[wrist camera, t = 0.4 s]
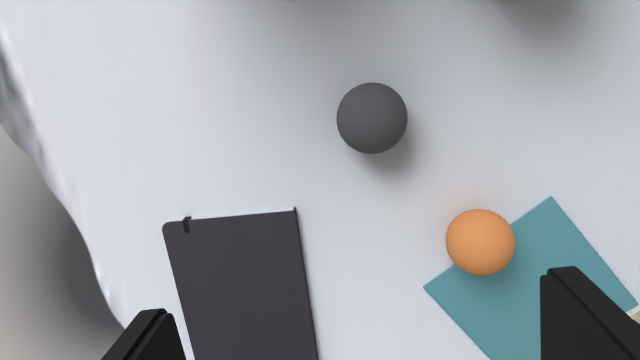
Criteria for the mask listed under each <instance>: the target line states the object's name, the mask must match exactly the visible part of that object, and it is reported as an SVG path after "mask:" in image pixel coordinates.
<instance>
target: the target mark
mask: <svg viewBox="0 0 640 360" xmlns="http://www.w3.org/2000/svg"><path fill="white" fill-rule="evenodd" d="M510 227H511V229H512V231H513V233H514V236H515V251H514V254H513V256H512V258H511V260H510V262H509V263H508V264H507V265H506V266H505V267H504V268H502V269H501V270H499V271H497V272H495V273H492V274H488V275H477V274H472V273H469V272H467V271H465V270H463V269H461V268H460V267H459V266H457V265H456V264H454V265H453V266H452V267H450V268H449V269H447V270H446V271H445V272H443V273H442V274H440V275H439V276H437V277H436V278H435V279H433V280H432V281H430V282H429V283H428V284H426V285H425V286H423V288H424V289H425V290H426V291H427V292H428V293H429V294H430V295H431V296H432V297H433V299H434V300H435V301H436V302H437V303H438V304H439V305H440V306H441V307H442V308H443V309H444V310H445V311H446V312H447V313H448V315H449V316H450V317H451V318H452V319H453V320H454V321H455V322H456V323H457V324H458V325H459V326H460V327H461V328H462V329H463V330H464V332H465V333H466V334H467V335H468V336H469V337H470V338H471V339H472V340H473V341H474V342H475V343H476V344H477V345H478V346H479V348H480V349H481V350H482V351H483V352H484V353H485V354H486V355H487V356H488V357H489V358H490V359H491V360H541V342H540V277H541V276H542V275H547V270H548V269H549V268H556V267H566V266H576V267H577V268H579V269H580V270H581V271H582V272H583V273H584V274H585V275H586V276H587V277H588V278H589V279H590V280H591V281H592V282H593V283H594V284H596V285H597V286H598V287H599V288H600V289H601V290H602V291H603V292H604V293H605V294H606V295H607V296H608V297H609V298H610V299H611V300H612V301H614V302H615V303H616V304H617V305H618V306H619V307H620V308H621V309H622V310H623V311H624V312H626V311H627V310H629V309H631V308H633V307H634V306H636V305H638V303H637V301H636V300H635V299H634V298H633V296H632V295H631V294H630V293H629V292H628V290H627V289H626V288H625V287H624V285H623V284H622V283H621V282H620V280H619V279H618V278H617V277H616V275H615V274H614V273H613V272H612V271H611V269H610V268H609V267H608V266H607V264H606V263H605V262H604V261H603V259H602V258H601V257H600V256H599V255H598V253H597V252H596V251H595V250H594V248H593V247H592V246H591V245H590V243H589V242H588V241H587V240H586V238H585V237H584V236H583V235H582V234H581V232H580V231H579V230H578V229H577V227H576V226H575V225H574V224H573V222H572V221H571V220H570V219H569V217H568V216H567V215H566V214H565V213H564V211H563V210H562V209H561V208H560V206H559V205H558V204H557V203H556V201H555V200H554V199H553V198H552V197H551V196H550V197H549V198H548V199H546V200H545V201H543V202H542V203H541V204H539V205H538V206H536V207H535V208H533V209H532V210H531V211H529V212H528V213H526V214H525V215H524V216H522V217H521V218H519V219H518V220H517V221H515V222H514V223H512V224H511V225H510Z"/></svg>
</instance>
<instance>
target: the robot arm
mask: <svg viewBox="0 0 640 360" xmlns="http://www.w3.org/2000/svg"><path fill="white" fill-rule="evenodd" d="M540 342H541V360H640V324H639V323H638V322H636V321H635V320H634V319H632V318H630V317H629V316H628V315H627V314H626V313H625V312H624V311H623V310H622V309H621V308H620V307H619V306H618V305H617V304H616V303H615V302H614V301H612V300H611V299H610V298H609V297H608V296H607V295H606V294H605V293H604V292H603V291H602V290H601V289H600V288H599V287H598V286H597V285H596V284H594V283H593V282H592V281H591V280H590V279H589V278H588V277H587V276H586V275H585V274H584V273H583V272H582V271H581V270H580V269H579V268H577V267H576V266H566V267H556V268H549V269H548V270H547V275H542V276H541V277H540ZM101 360H186V357H185V354H184V350H183V347H182V343H181V340H180V336H179V333H178V330H177V326H176V323H175V319H174V317H173V315H172V314H171V313H167V311H166V310H165V309H163V308H160V309H150V310H142V311H140V312H139V313H138V314H137V316H136V317H135V318H134V319H133V321H132V322H131V323H130V324H129V326H128V327H127V328H126V329H125V331H124V332H123V333H122V334H121V336H120V337H119V338H118V339H117V340H116V342H115V343H114V344H113V346H112V347H111V348H110V349H109V350H108V352H107V353H106V354H105V355H104V357H103V358H102V359H101Z"/></svg>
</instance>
